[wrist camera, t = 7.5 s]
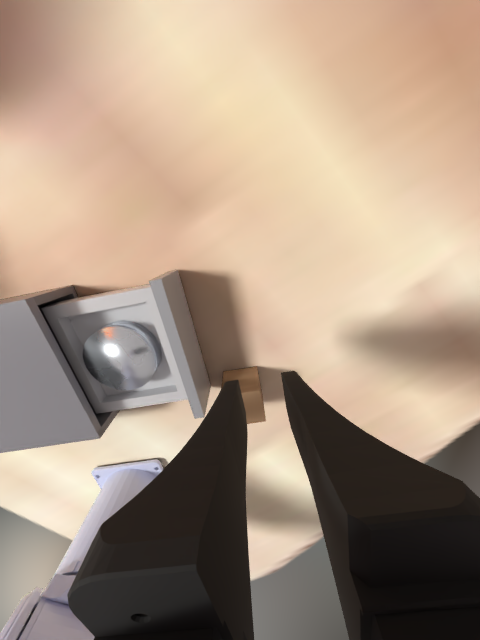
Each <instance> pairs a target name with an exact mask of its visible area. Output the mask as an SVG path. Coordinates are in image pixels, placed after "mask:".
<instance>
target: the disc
mask: <svg viewBox="0 0 480 640" xmlns="http://www.w3.org/2000/svg"><path fill="white" fill-rule="evenodd" d="M161 357H162V352H161V347H160V344H159V342H158V340H157V338H156V337H155V336H154V335H153V333H152V332H151V331H149V330H148V329H147V328H145V327H144V326H142V325H140V324H138V323H135V322H131V321H123V320H121V321H114V322H111V323H109V324H107V325H105V326H104V327H102V328H101V329H99V330H98V331H96V332H95V333H94V334H92V335H91V336H90V337H89V338H88V339H87V341H86V342H85V344H84V347H83V360H84V363H85V366H86V368H87V369H88V371H89V372H90V374H91V375H92V376H93V377H94V378H95V379H96V380H98V381H99V382H100V383H102V384H104V385H106V386H108V387H111V388H113V389H118V390H133V389H137V388H140V387H142V386H144V385H145V384H146V383H147V382H149V380H150V379H151V378H152V376H153V374H154V373H155V371H156V370H157V368H158V366H159V364H160V362H161Z"/></svg>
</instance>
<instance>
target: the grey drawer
mask: <svg viewBox="0 0 480 640" xmlns="http://www.w3.org/2000/svg"><path fill="white" fill-rule="evenodd" d="M149 283H150V284H146V285H141V286H136V287H131V288H126V289H121V290H116V291H110V292H105V293H100V294H95V295H90V296H85V297H80V298H74V299H69V300H64V301H59V302H57V303H54V304H51V305H48V306H46V307H43V308H41V309H42V311H43V313H44V315H45V317H46V318H47V320H48V322H49V324H50V326H51V328H52V330H53V332H54V334H55V336H56V338H57V339H58V341H59V343H60V345H61V347H62V349H63V351H64V353H65V355H66V357H67V359H68V361H69V362H70V364H71V366H72V368H73V370H74V372H75V374H76V376H77V378H78V380H79V382H80V383H81V385H82V387H83V389H84V391H85V393H86V395H87V397H88V399H89V401H90V403H91V404H92V406H93V408H94V410H95V412H96V414H98V413H104V412H111V411H117V410H124V409H130V408H137V407H143V406H150V405H156V404H163V403H169V402H175V401H182V400H189V403H190V406H191V409H192V412H193V415H194V418H202V417H205V412H206V407H207V402H208V397H209V392H210V387H211V385H210V381H209V378H208V374H207V371H206V367H205V364H204V360H203V357H202V353H201V350H200V346H199V343H198V339H197V336H196V332H195V329H194V325H193V322H192V318H191V314H190V311H189V307H188V304H187V300H186V297H185V293H184V290H183V286H182V283H181V279H180V276H179V272H178V270H174V271H169V272H166V273H164V274H162V275H160V276H158V277H156V278H154V279H152V280H150V281H149ZM121 320H123V321H131V322H135V323H138V324H140V325H142V326H144V327H145V328H147V329H148V330H149V331H151V332H152V333H153V335H154V336H155V337H156V338H157V340H158V342H159V344H160V347H161V352H162V357H161V362H160V364H159V366H158V368H157V370H156V371H155V373H154V374H153V376H152V378H151V379H150V380H149V382H147V383H146V384H145V385H144V386H142V387H140V388H137V389H133V390H118V389H113V388H111V387H108V386H106V385H104V384H102V383H100V382H99V381H98V380H96V379H95V378H94V377H93V376H92V375H91V374H90V372H89V371H88V369H87V368H86V366H85V363H84V360H83V347H84V344H85V342H86V341H87V339H88V338H89V337H90V336H91V335H92V334H94V333H95V332H96V331H98V330H99V329H101V328H102V327H104V326H105V325H107V324H109V323H111V322H114V321H121Z"/></svg>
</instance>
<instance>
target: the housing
mask: <svg viewBox="0 0 480 640" xmlns="http://www.w3.org/2000/svg"><path fill="white" fill-rule="evenodd" d="M74 298H78V296H77V293H76V291H75V289H74V287H73V285H71V286H66V287H61V288H56V289H51V290H46V291H41V292H36V293H31V294H26V295H20V296H15V297H10V298H5V299H0V453H3V452H10V451H17V450H24V449H31V448H38V447H44V446H51V445H58V444H65V443H72V442H79V441H85V440H92V439H99V438H101V436H102V435H103V433H104V432H105V430H106V429H107V428H108V426H109V425H110V423H111V422H112V420H113V419H114V418H115V416H116V415H117V413H118V412H119V410H117V411H111V412H104V413H98V414H96V412H95V410H94V408H93V406H92V404H91V403H90V401H89V399H88V397H87V395H86V393H85V391H84V389H83V387H82V385H81V383H80V382H79V380H78V378H77V376H76V374H75V372H74V370H73V368H72V366H71V364H70V362H69V361H68V359H67V357H66V355H65V353H64V351H63V349H62V347H61V345H60V343H59V341H58V339H57V338H56V336H55V334H54V332H53V330H52V328H51V326H50V324H49V322H48V320H47V318H46V317H45V315H44V313H43V311H42V309H41V308H43V307H46V306H48V305H51V304H54V303H57V302H59V301H64V300H69V299H74Z"/></svg>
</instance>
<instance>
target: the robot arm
mask: <svg viewBox="0 0 480 640" xmlns="http://www.w3.org/2000/svg"><path fill="white" fill-rule="evenodd" d="M281 375H282V382H283V389H284V395H285V402H286V408H287V412H288V417H289V421H290V425H291V429H292V432H293V435H294V438H295V440H296V443H297V446H298V449H299V452H300V455H301V458H302V461H303V463H304V466H305V469H306V472H307V475H308V478H309V481H310V485H311V488H312V492H313V495H314V499H315V503H316V507H317V511H318V515H319V519H320V523H321V527H322V530H323V534H324V538H325V542H326V546H327V550H328V554H329V558H330V562H331V566H332V570H333V574H334V578H335V582H336V586H337V590H338V594H339V599H340V602H341V607H342V611H343V615H344V619H345V623H346V627H347V631H348V635H349V640H480V498H479V497H478V496H477V495H475V493H473V492H472V490H470V489H469V488H468V487H467V486H466V485H465V484H464V483H463V482H462V481H461V480H459V479H456V478H454V477H452V476H450V475H448V474H445V473H443V472H441V471H439V470H437V469H434V468H432V467H430V466H428V465H426V464H423V463H421V462H419V461H417V460H415V459H413V458H411V457H409V456H407V455H405V454H403V453H401V452H399V451H398V450H396V449H394V448H392V447H390V446H388V445H387V444H385V443H383V442H382V441H380V440H378V439H376V438H375V437H373V436H371V435H370V434H368V433H366V432H365V431H363V430H362V429H360V428H359V427H357V426H356V425H354V424H353V423H352V422H350V421H349V420H347V419H346V418H345V417H343V416H342V415H341V414H339V413H338V412H337V411H336V410H334V409H333V408H332V407H331V406H330V405H328V404H327V403H326V402H325V401H324V400H323V399H322V398H320V397H319V396H318V395H317V394H316V393H315V392H314V391H313V390H312V389H311V388H310V387H309V386H308V385H307V384H306V383H305V382H304V381H303V380H302V378H301V377H300V376H299V375H298V374H297V372H295V371H289V372H283V373H281ZM246 460H247V420H246V411H245V407H244V402H243V398H242V394H241V389H240V385H239V380H232V381H226V382H225V383H224V385H223V387H222V389H221V391H220V393H219V395H218V397H217V399H216V400H215V402H214V404H213V406H212V407H211V409H210V411H209V412H208V414H207V416H206V417H205V419H204V420H203V422H202V423H201V425H200V426H199V428H198V429H197V430H196V432H195V433H194V435H193V436H192V437H191V439H190V440H189V441H188V442H187V444H186V445H185V446H184V447H183V449H182V450H181V451H180V452H179V453H178V454H177V455H176V457H175V458H174V459H173V460H172V461H171V462H170V463H169V464H168V465H167V466H166V467H165V468H164V469H163V467H162V464H161V462H160V461H159V460H157V459H155V460H148V461H140V462H133V463H126V464H118V465H111V466H104V467H96V468H94V469H93V471H92V475H93V477H94V478H95V480H96V482H97V483H98V485H99V486H100V488H101V490H100V492H99V494H98V496H97V498H96V499H95V501H94V503H93V505H92V507H91V509H90V510H89V512H88V514H87V516H86V518H85V519H84V521H83V523H82V525H81V527H80V529H79V530H78V532H77V534H76V536H75V538H74V539H73V541H72V543H71V545H70V547H69V549H68V550H67V552H66V554H65V556H64V558H63V559H62V561H61V563H60V565H59V567H58V569H57V571H56V572H55V574H54V575H53V577H52V578H51V580H50V582H49V583H48V585H47V586H46V588H45V589H44V591H43V592H42V590H43V588H39V587H36V588H34V590H33V591H32V592H29V593H28V594H26V595H25V596H23V597H22V599H21V600H20V602H19V603H18V605H17V607H16V608H15V610H14V612H13V613H12V615H11V616H10V618H9V620H8V621H7V623H6V625H5V626H4V628H3V630H2V631H1V633H0V640H254V632H253V618H252V603H251V588H250V571H249V555H248V536H247V517H246ZM41 592H42V594H41V595H40V593H41Z"/></svg>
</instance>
